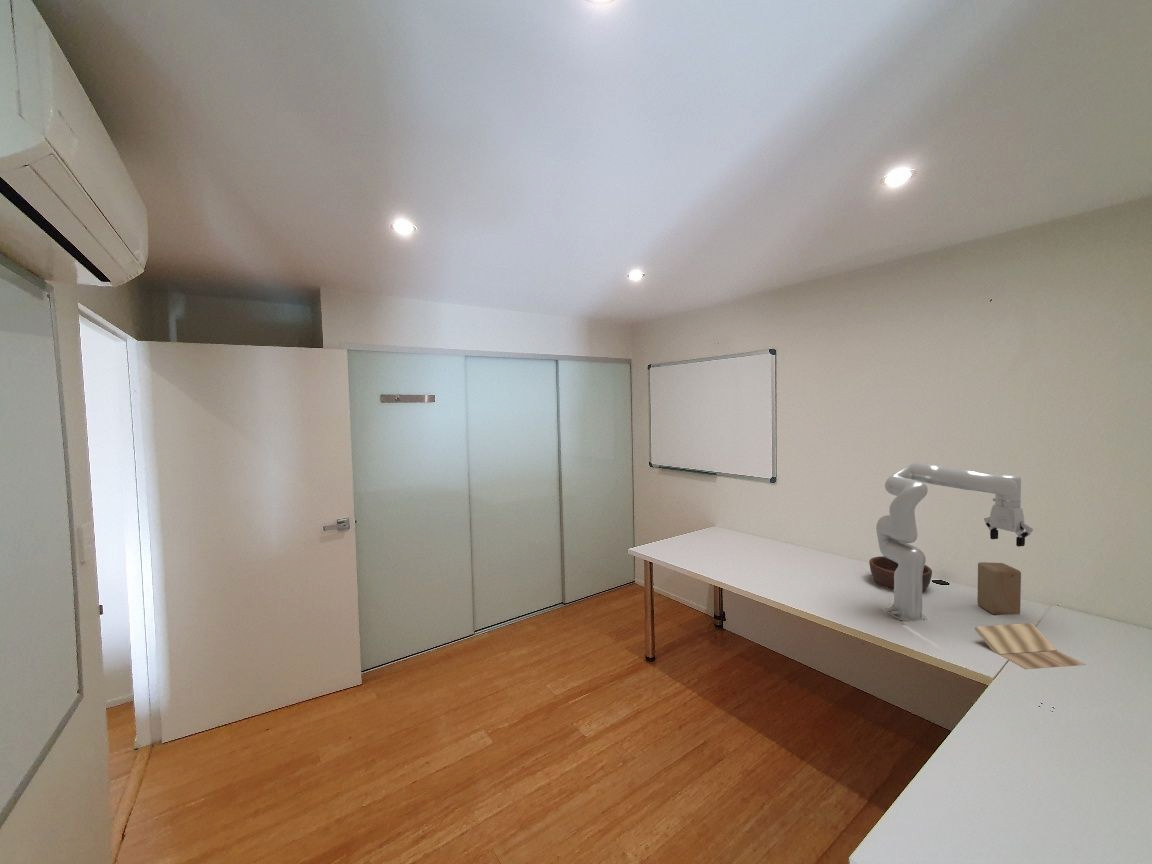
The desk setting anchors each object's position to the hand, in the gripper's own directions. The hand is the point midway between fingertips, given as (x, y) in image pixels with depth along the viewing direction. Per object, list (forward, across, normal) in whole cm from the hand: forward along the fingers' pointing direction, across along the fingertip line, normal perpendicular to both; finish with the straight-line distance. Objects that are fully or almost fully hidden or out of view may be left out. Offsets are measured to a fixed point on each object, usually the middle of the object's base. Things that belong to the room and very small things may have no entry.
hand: (1006, 542), depth 178 cm
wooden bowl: (+31, -32, -19) cm, 49 cm away
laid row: (+31, +32, -28) cm, 52 cm away
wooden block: (+31, -1, -2) cm, 31 cm away
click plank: (+27, +23, -27) cm, 45 cm away
